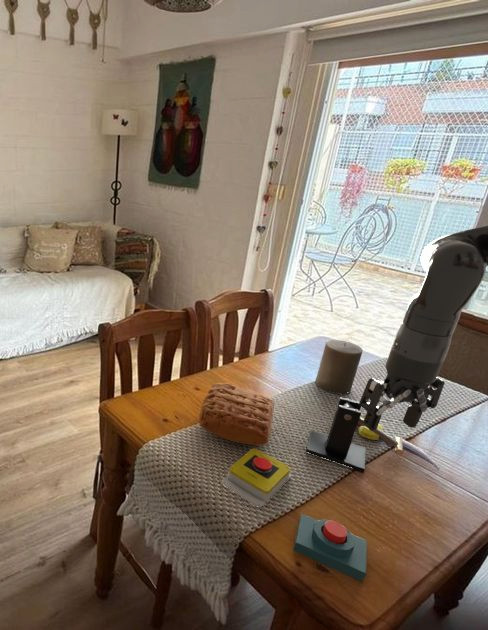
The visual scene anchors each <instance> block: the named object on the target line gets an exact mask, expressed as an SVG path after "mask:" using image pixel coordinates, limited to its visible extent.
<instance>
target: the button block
mask: <svg viewBox="0 0 488 630" xmlns="http://www.w3.org/2000/svg"><path fill="white" fill-rule="evenodd" d="M327 521H332V520H331V519H319V520H318V519H316V518H314V517H311V516H309V515H308V514H307V515H306V514H304V513H301V514H300V517H299V520H298V525H297V530H296V535H295V539H294V545H293V550H292V551H294V552H296V553H298V554H300V555H302V556H304V557H306V558H309V559H311V560H313V561H314V562H317V563H320V564H322V565H324V566H326V567H328V568H331V569H333V570H335V571H337V572H339V573H341V574H344V575H346V576H348V577H350V578H352V579H354V580H357V581H358V582H362V583H363V582H364V581H365V580H364V579H365V578H366V575H367V555H368V553H367V551H368V541H367V539H364V538H362V537H359V536H358V535H357V536H356V535H355V534H353V533H351V531H350V530H349V529H348V528H346V527H345V529H346V530H347V537H346V539H345V542H344V543H342V544H336V543H333V542H331V541H329V540H328V539H327V538H326V537H325V536H324V535H323V528H324V525H325V523H326V522H327Z"/></svg>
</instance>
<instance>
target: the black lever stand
mask: <svg viewBox="0 0 488 630" xmlns="http://www.w3.org/2000/svg"><path fill="white" fill-rule="evenodd" d="M346 402H348V403H349V404H350V405H352V406H353V407H355V408H356V409H358V410H356V409H352V408H349V407H345V406H343V405H344V404H345V403H346ZM359 402H360V401H356V400H353V399H350V398H347V397H342V396H340V397H339V400H338V403H337V407H336V410H335V411H336V413H335V412H334V416H333V419H332V422H331V426H330V428H329V431H328V434H326V433H321V432H319V431H316V430H312V429H311V430H310V432H309V436H308V440H309V441H307V445H306V450H305V453H306V452H309V453H311V454H314V455H317V456H319V457H323V458H326V459H329V460H331V461H335V462H337V463H340V464H344V465H346V466H349V467H352V468H353V469H352V471H356V472H359V473H361V474H364V473H365V469H366V447H364V446H361V445H358V444H356V443H352V442H353V440H354V436H355V433H356V430H357V428H358V427H357V424H358V422H359V419H360V416H361V415H362V411H361V408H362V407H361V406H360V405H359ZM319 457H318V458H319Z"/></svg>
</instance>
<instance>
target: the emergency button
mask: <svg viewBox="0 0 488 630" xmlns="http://www.w3.org/2000/svg"><path fill="white" fill-rule="evenodd" d="M291 478H292V473H291V468H290V466H288V465H287V464H286V463H283V462H282V461H280V460H278V459H276V458H274V457H273V456H270V455H269V454H267V453H265V452H263V451H262V450H260V449H258V448H255V447H254V448H251V449H250V450H249V451H248V452H247V453H245V454H244V455H243V456H242V457H240V458H239V459H237V461H235V462H234V463H233V464H232V465H231V466H230V467H229V469H228V473H227V475H226V476H225V477H224V478H222V480H221V484H222V483H223V484H224V485H225V486H226V487H228V488H229V489H231V490H232V491H234V492H235V493H236V494H238V495H240V496H242V497H243V498H245V499H246V500H247V501H249V502H250V503H252V504H253V505H255V506H258V507H262V506H263V507H265V505H266V504H267V503H268V502H269V501H270V500H271V499H272V498H273V497H274V496H275V495H276V494H277V493H278V492H279V491H280V490H281V489H282V488H283V487H284V486H285V485H286V484H287V483H288V482H289V481H290V480H289V479H291ZM288 480H289V481H288ZM287 481H288V482H287ZM286 482H287V483H286ZM285 483H286V484H285ZM284 484H285V485H284ZM283 485H284V486H283ZM282 486H283V487H282ZM281 487H282V488H281ZM280 488H281V489H280ZM279 489H280V490H279ZM278 490H279V491H278ZM277 491H278V492H277ZM276 492H277V493H276ZM275 493H276V494H275ZM236 494H235V495H236ZM274 494H275V495H274ZM238 495H237V496H238ZM273 495H274V496H273ZM272 496H273V497H272ZM271 497H272V498H271ZM270 498H271V499H270ZM269 499H270V500H269ZM268 500H269V501H268ZM247 501H246V502H247ZM267 501H268V502H267ZM266 502H267V503H266ZM250 503H249V504H250ZM265 503H266V504H265ZM253 505H252V506H253ZM255 506H254V507H255ZM263 507H262V508H263Z"/></svg>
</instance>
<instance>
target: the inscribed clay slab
mask: <svg viewBox="0 0 488 630" xmlns="http://www.w3.org/2000/svg"><path fill="white" fill-rule="evenodd" d="M274 409H275V403H274V401H273V400H272V399H270V398H269V397H268V396H266V395H264V394H261V393H258V392H255V391H253V390H250V389H248V388H245V387H241V386H238V385H233V384H230V383H220V382H216V383H213V384H212V385H211V387H210V388H209V390H208V391H207V394H206V395H205V397H204V400H203V402H202V404H201V407H200V412H199V421H198V423H199V426H200V427H201V429H204V430H205V431H207V432H209V433H212V434H214V435H216V436H219V437H221V438H222V439H225V440H228V441H231V442H234V443H239V444H243V445H251V446H264V445H267V444H268V442H269V440H270V437H271V433H272V427H273V416H274Z"/></svg>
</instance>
